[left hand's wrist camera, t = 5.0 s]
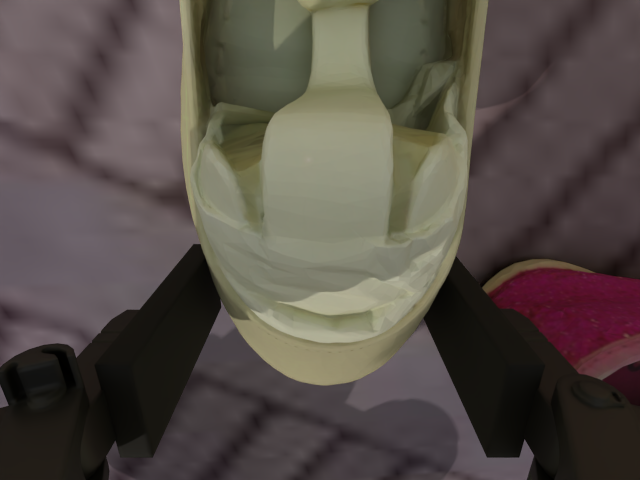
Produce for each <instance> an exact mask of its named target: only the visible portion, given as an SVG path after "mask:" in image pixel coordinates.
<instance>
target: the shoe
mask: <svg viewBox="0 0 640 480" xmlns="http://www.w3.org/2000/svg"><path fill="white" fill-rule="evenodd" d="M482 288H483V290H484V291H485V292H486V293H487V295H488V296H489V297H490V298H491V299H492V301H493V302H494V303H495V304H496V305H497V307H498V308H499V309H514V310H516V311H517V312H519V313H521V314H522V315H524V316H526V317H527V318H529V319H530V321H531V322H532V323H533V324H534V325H535V326H536V327H537V328H538V329H539V332H542V334H543V335H544V336H545V337H546V338H547V339H548V342H551V343H552V344H553V346H554V347H555V348H556V349H557V350H558V351H559V352H560V353H561V354H562V355H563V356H564V358H565V359H566V360H567V361H568V362H569V363H570V364H571V365H572V366H573V367H574V368H575V369H576V371H577V372H578V373H579V374H585V375H588V376H591V377H594V378H597V379H600V380H602V381H604V382H606V383H608V384H610V385H611V386H613V387H615V388H616V389H617V390H618V391H620V392H621V393H622V394H623V395H625V397H626V398H627V400H628V401H629V402H630V404H632V405H636V406H640V280H639V279H633V278H627V277H617V276H611V275H605V274H600V273H595V272H592V271H590V270H588V269H585V268H582V267H579V266H576V265H573V264H569V263H566V262H561V261H556V260H551V259H531V260H527V261H522V262H518V263H514V264H512V265H510V266H509V267H507V268H505V269H503V270H501V271H500V272H499V273H498V274H496V275H495V276H494V277H493V278H491V279H490V280H489V281H488V282H487V283H486V284H485V285H484V286H483V287H482Z"/></svg>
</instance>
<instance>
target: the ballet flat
mask: <svg viewBox="0 0 640 480" xmlns="http://www.w3.org/2000/svg"><path fill="white" fill-rule="evenodd" d="M487 8H488V0H180V12H181V24H182V36H183V58H182V79H181V143H182V158H183V167H184V175H185V182H186V189H187V194H188V199H189V203H190V208H191V213H192V217H193V221H194V224H195V227H196V231H197V234H198V237H199V240H200V243H201V247H202V250H203V253H204V255H205V258H206V261H207V264H208V267H209V270H210V273H211V276H212V279H213V282H214V285H215V287H216V289H217V292H218V294H219V296H220V299H221V301H222V302H223V304H224V306H225V308H226V310H227V312H228V313H229V315H230V317H231V319H232V320H233V322H234V324H235V325H236V327H237V329H238V330H239V332H240V334H241V335H242V336H243V338H244V339H245V340H246V342H247V343H248V344H249V345H250V346H251V347H252V348H253V349H254V350H255V351H256V352H257V353H258V354H259V356H260V357H261V358H262V359H263V360H265V361H266V362H267V363H268V364H269V365H271V366H272V367H273V368H275V369H276V370H278V371H280V372H281V373H283V374H284V375H286V376H288V377H289V378H292V379H295V380H297V381H300V382H304V383H309V384H315V385H333V384H341V383H348V382H352V381H355V380H357V379H360V378H362V377H364V376H366V375H368V374H370V373H372V372H374V371H375V370H377V369H378V368H379V367H381V366H382V365H384V364H385V363H386V362H387V361H388V360H389V359H391V358H392V356H393V355H394V354H395V353H396V352H397V351H398V350H399V349H400V348H401V346H402V345H403V344H404V343H405V342H406V340H407V339H408V338H409V337H410V336H411V335H412V334H413V333H414V331H415V330H416V329H417V327H418V325H419V324H420V322H421V321H422V319H423V317H424V316H425V315H426V313H427V312H428V310H429V308H430V306H431V305H432V303H433V301H434V299H435V297H436V295H437V293H438V291H439V289H440V288H441V286H442V284H443V283H444V281H445V279H446V277H447V275H448V273H449V271H450V269H451V267H452V264H453V262H454V259H455V256H456V253H457V250H458V247H459V244H460V240H461V235H462V230H463V224H464V216H465V209H466V201H467V190H468V178H469V167H470V155H471V145H472V136H473V126H474V117H475V108H476V99H477V92H478V84H479V76H480V68H481V59H482V50H483V41H484V32H485V24H486V16H487Z"/></svg>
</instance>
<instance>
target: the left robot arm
mask: <svg viewBox="0 0 640 480" xmlns="http://www.w3.org/2000/svg"><path fill="white" fill-rule="evenodd" d="M220 309H221V301H220V296H219V294H218V292H217V289H216V287H215V285H214V282H213V279H212V276H211V273H210V270H209V267H208V264H207V261H206V258H205V255H204V253H203V250H202V247H201V244H193V246H192V247H191V248H190V249H189V251H188V252H187V253H186V254H185V255H184V257H183V258H182V259H181V260H180V261H179V263H178V264H177V265H176V266H175V268H174V269H173V270H172V271H171V272H170V274H169V275H168V276H167V277H166V278H165V280H164V281H163V282H162V283H161V285H160V286H159V287H158V288H157V289H156V291H155V292H154V293H153V294H152V295H151V297H150V298H149V299H148V300H147V301H146V303H145V304H144V305H143V306H142V308H141V309H140V310H126V311H125V312H123V313H121V314H120V315H118V316H116V317H115V318H113V319H112V320H111V321H110V322H109V323H108V324H107V325H106V326H105V327H104V328H103V329H102V331H101V333H99V334H98V335H97V336H96V337H95V338H94V339H93V340H92V343H90V344H89V345H88V346H87V347H86V348H85V349H84V350H83V351H82V352H81V354H80V355H79V356H78V357H77V358H76V356H75V353H74V349H73V348H71V347H70V346H68V345H65V344H58V343H57V344H48V345H42V346H39V347H35V348H32V349H29V350H27V351H25V352H23V353H20V354H18V355H16V356H14V357H13V358H12V359H10V360H9V361H7V362H6V363H4V364H3V365H2V366H1V367H0V385H1V388H2V390H3V392H4V395H5V397H6V400H7V402H8V405H9V406H6V407H2V408H0V480H108V479H109V466H108V461H107V458H106V456H107V454H108V452H109V450H110V449H111V447H112V445H113V444H114V442H115V440H116V443H117V447H118V450H119V454H120V457H153V455H154V453H155V451H156V449H157V447H158V445H159V442H160V440H161V438H162V436H163V434H164V431H165V429H166V427H167V425H168V423H169V420H170V418H171V416H172V414H173V412H174V409H175V407H176V405H177V403H178V401H179V399H180V396H181V394H182V392H183V390H184V388H185V385H186V383H187V381H188V379H189V377H190V374H191V372H192V370H193V368H194V366H195V363H196V361H197V359H198V357H199V355H200V353H201V350H202V348H203V346H204V344H205V342H206V339H207V337H208V335H209V333H210V331H211V328H212V326H213V324H214V322H215V320H216V317H217V315H218V313H219V311H220ZM423 318H424V320H425V322H426V325H427V327H428V329H429V331H430V333H431V336H432V338H433V340H434V342H435V344H436V347H437V349H438V351H439V353H440V355H441V357H442V360H443V362H444V364H445V366H446V368H447V371H448V373H449V375H450V377H451V379H452V382H453V384H454V386H455V388H456V390H457V393H458V395H459V397H460V399H461V401H462V403H463V406H464V408H465V410H466V412H467V414H468V417H469V419H470V421H471V423H472V425H473V428H474V430H475V432H476V434H477V436H478V439H479V441H480V443H481V445H482V447H483V449H484V452H485V454H486V456H487V457H519V456H520V453H521V449H522V446H523V442H524V439H525V440H526V442H527V444H528V445H529V447H530V449H531V451H532V452H533V454H534V458H533V461H532V464H531V468H530V471H529V474H528V478H527V480H640V406H636V405H632V404H630V402H629V401H628V400H627V398H626V397H625V395H623V394H622V393H621V392H620V391H618V390H617V389H616V388H615V387H613V386H611V385H610V384H608V383H606V382H604V381H602V380H600V379H597V378H594V377H591V376H588V375H585V374H579V373H578V372H577V371H576V369H575V368H574V367H573V366H572V365H571V364H570V363H569V362H568V361H567V360H566V359H565V358H564V356H563V355H562V354H561V353H560V352H559V351H558V350H557V349H556V348H555V347H554V346H553V344H552V343H551V342H548V339H547V338H546V337H545V336H544V335H543V334H542V332H539V329H538V328H537V327H536V326H535V325H534V324H533V323H532V322H531V321H530V319H529V318H527V317H526V316H524V315H522V314H521V313H519V312H517V311H516V310H514V309H499V308H498V307H497V305H496V304H495V303H494V302H493V301H492V299H491V298H490V297H489V296H488V295H487V293H486V292H485V291H484V290H483V288H482V287H481V286H480V285H479V284H478V282H477V281H476V280H475V279H474V278H473V276H472V275H471V274H470V273H469V272H468V270H467V269H466V268H465V267H464V265H463V264H462V263H461V262H460V261H459V259H458V258H457V257H456V256H455V259H454V262H453V264H452V267H451V269H450V271H449V273H448V275H447V277H446V279H445V281H444V283H443V284H442V286H441V288H440V289H439V291H438V293H437V295H436V297H435V299H434V301H433V303H432V305H431V306H430V308H429V310H428V312H427V313H426V315H425V316H424V317H423Z"/></svg>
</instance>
